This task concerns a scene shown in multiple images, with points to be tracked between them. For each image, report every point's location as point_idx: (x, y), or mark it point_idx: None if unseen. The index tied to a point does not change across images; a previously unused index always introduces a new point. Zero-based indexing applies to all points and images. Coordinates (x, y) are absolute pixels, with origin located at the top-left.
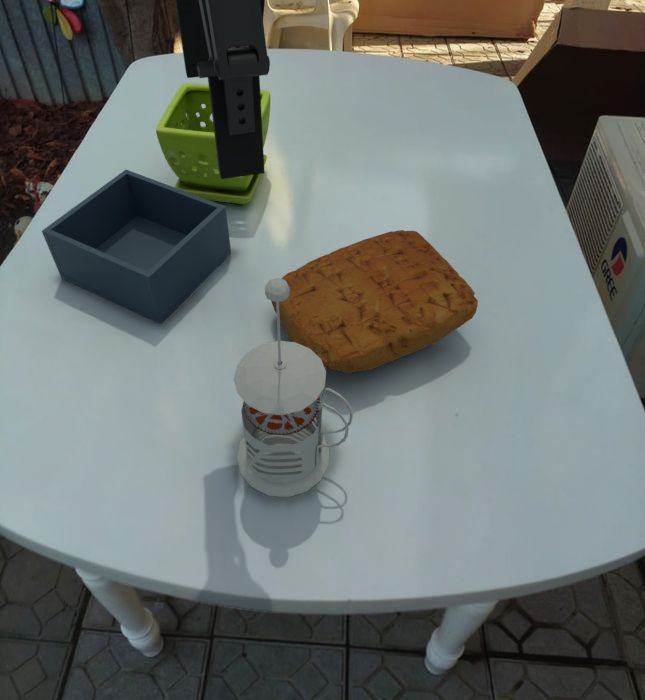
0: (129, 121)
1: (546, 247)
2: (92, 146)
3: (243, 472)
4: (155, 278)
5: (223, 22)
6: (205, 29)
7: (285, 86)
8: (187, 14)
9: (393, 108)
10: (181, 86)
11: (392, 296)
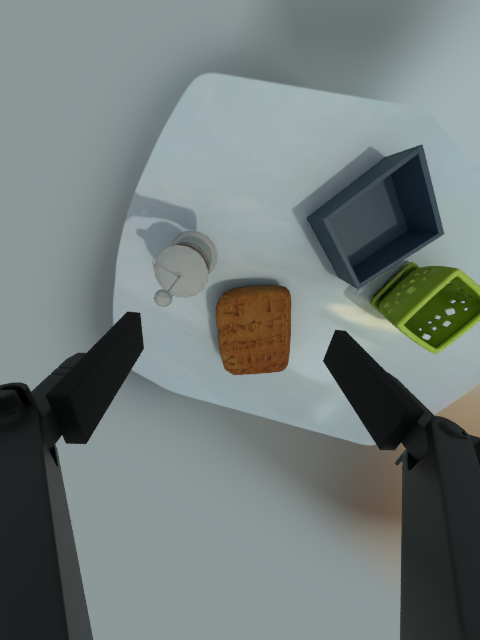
0: None
1: (260, 407)
2: None
3: (189, 232)
4: (323, 224)
5: None
6: (14, 457)
7: (458, 358)
8: (370, 383)
9: None
10: None
11: (243, 343)
